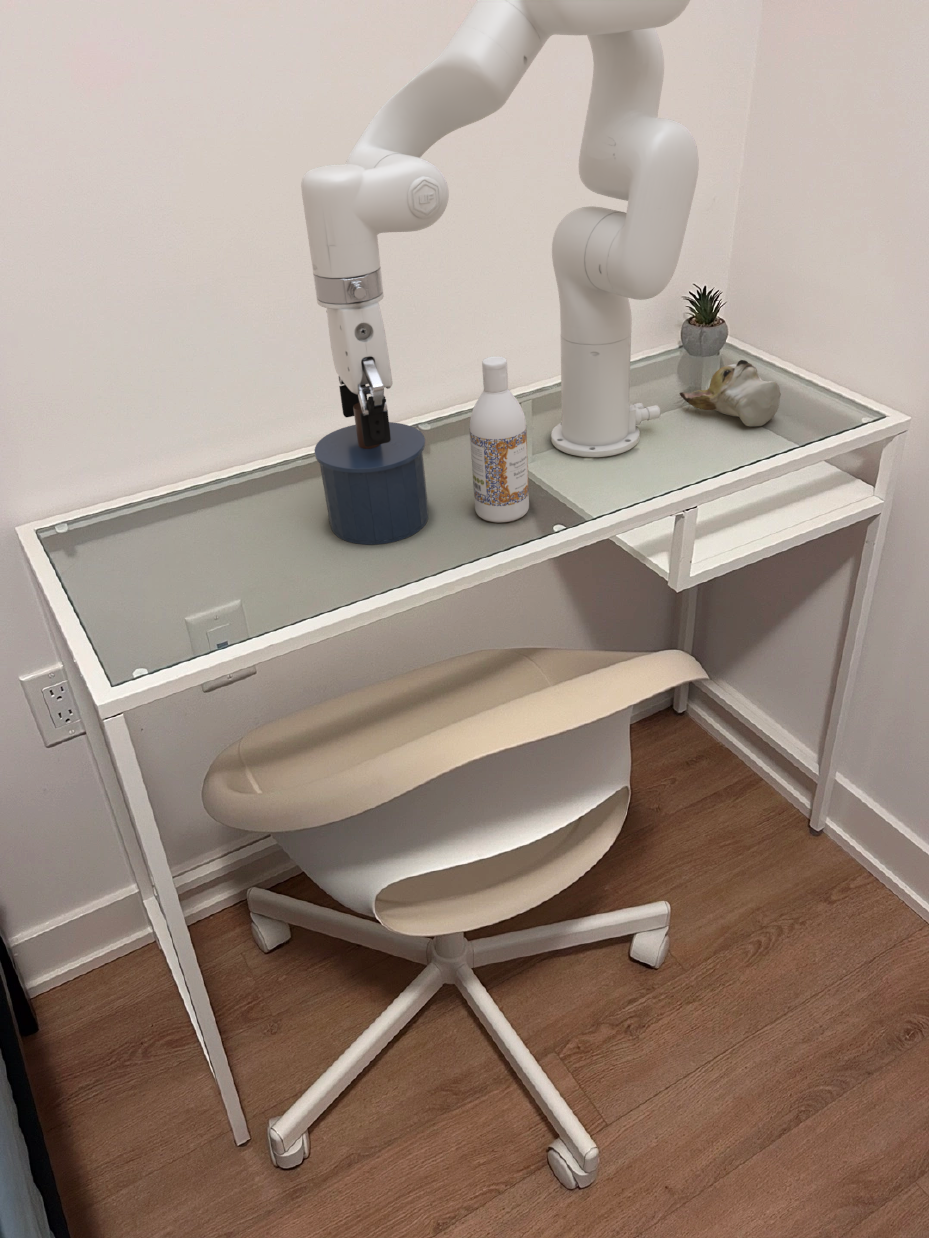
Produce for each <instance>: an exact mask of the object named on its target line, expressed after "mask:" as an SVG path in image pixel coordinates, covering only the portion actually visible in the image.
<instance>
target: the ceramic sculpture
mask: <svg viewBox="0 0 929 1238" xmlns="http://www.w3.org/2000/svg"><path fill="white" fill-rule="evenodd" d="M781 395H782V393H781V388H780V385H779V383H778V382H777V381H775V380H769V381H766V380H763V379H762V377H761V376H760V374H759V372H758V368H757V367H756V366H755V365H754V364H752V363H750V362H749V361H747V360H745V359H740V360H738V361H737V363H733V364H732V363H731V364H729V365H725V366H722V367H720V368H719V369H717V370H716V371H715V372H714V374H713V375H712V377H711V378H710V383H709V387H708V388H707V389H696V390H694V391H691V392H682V391H681V392H679V396H681V398H682V399H683V400H684V401H685V402H686V403H688V404H689V405H691V406H692V407H694V408H696V409H698V410H703V411H717V412H719V413H721V414H722V415H726V416H731V417H739V419H740V421H741V422H742V424H744V425H745V426H746V427H761V426H764V425H765V424H767V423H768V422H769V421H770V420H772V419H773V418H774V417H775V415H776V413H777V412H778V410H779V407H780V401H781Z"/></svg>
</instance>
